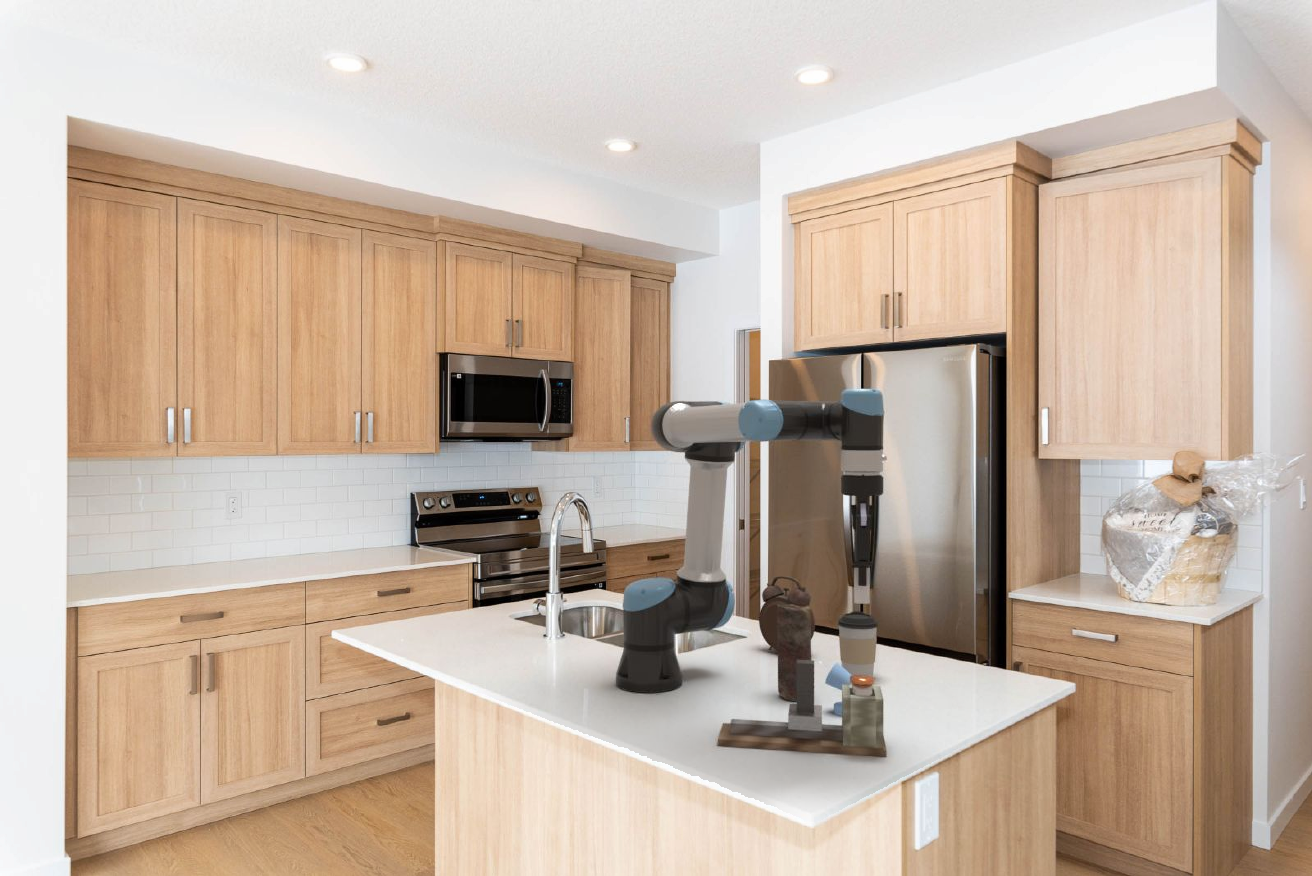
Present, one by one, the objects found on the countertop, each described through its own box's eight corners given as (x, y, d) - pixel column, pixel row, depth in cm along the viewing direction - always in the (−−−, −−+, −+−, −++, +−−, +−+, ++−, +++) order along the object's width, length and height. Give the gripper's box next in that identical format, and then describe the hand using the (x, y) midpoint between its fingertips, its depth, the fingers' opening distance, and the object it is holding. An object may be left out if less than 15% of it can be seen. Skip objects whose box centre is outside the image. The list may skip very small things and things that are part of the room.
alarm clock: (818, 656, 224) (818, 578, 224) (801, 661, 219) (801, 581, 219) (773, 646, 235) (773, 571, 235) (756, 650, 230) (756, 574, 230)
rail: (717, 745, 161) (717, 691, 160) (723, 729, 169) (723, 677, 169) (886, 756, 155) (886, 700, 155) (882, 739, 164) (883, 685, 164)
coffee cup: (878, 685, 199) (878, 619, 199) (837, 682, 201) (837, 617, 201) (876, 674, 208) (876, 611, 208) (837, 672, 210) (837, 609, 209)
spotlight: (822, 713, 179) (855, 718, 176) (822, 664, 179) (855, 669, 175) (830, 706, 183) (863, 712, 180) (830, 659, 183) (863, 663, 180)
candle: (770, 694, 192) (770, 602, 192) (799, 690, 195) (799, 600, 195) (789, 704, 185) (789, 609, 185) (818, 699, 188) (819, 606, 188)
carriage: (788, 729, 159) (788, 666, 159) (789, 716, 166) (789, 656, 166) (821, 731, 158) (822, 667, 158) (821, 718, 165) (821, 657, 165)
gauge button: (850, 723, 158) (850, 680, 158) (849, 715, 163) (849, 674, 163) (875, 725, 158) (875, 681, 158) (873, 717, 162) (873, 675, 162)
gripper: (885, 475, 153) (885, 610, 153) (880, 472, 166) (880, 596, 166) (841, 475, 154) (841, 609, 154) (840, 471, 167) (840, 595, 167)
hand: (861, 602), depth 160 cm, fingers closed
